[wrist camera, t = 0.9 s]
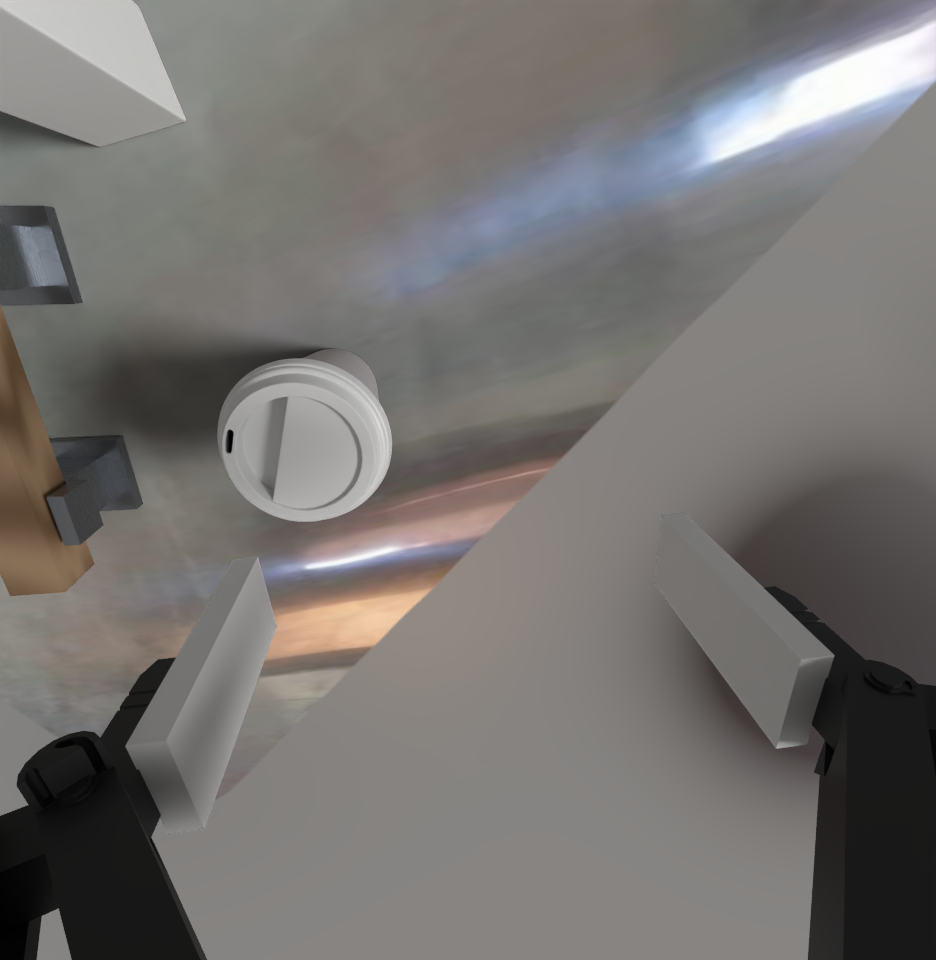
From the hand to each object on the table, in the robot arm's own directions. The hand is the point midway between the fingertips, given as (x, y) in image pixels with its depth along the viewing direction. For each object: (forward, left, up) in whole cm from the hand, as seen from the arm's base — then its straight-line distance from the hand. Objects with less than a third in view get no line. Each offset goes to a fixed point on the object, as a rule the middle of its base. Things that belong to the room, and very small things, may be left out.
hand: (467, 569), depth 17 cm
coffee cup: (0, -8, -27) cm, 28 cm away
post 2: (+6, -28, -27) cm, 39 cm away
